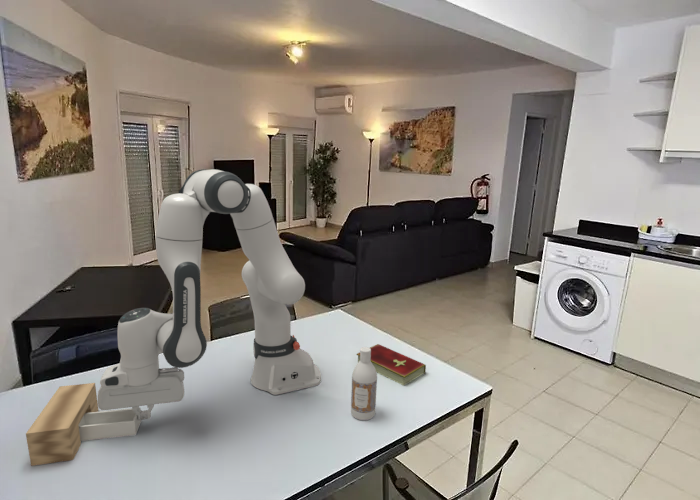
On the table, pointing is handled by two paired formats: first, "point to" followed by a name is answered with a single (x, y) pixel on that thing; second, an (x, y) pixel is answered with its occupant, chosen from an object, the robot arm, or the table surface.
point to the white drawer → (108, 424)
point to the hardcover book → (395, 365)
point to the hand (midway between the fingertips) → (144, 418)
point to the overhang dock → (60, 424)
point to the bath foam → (364, 387)
